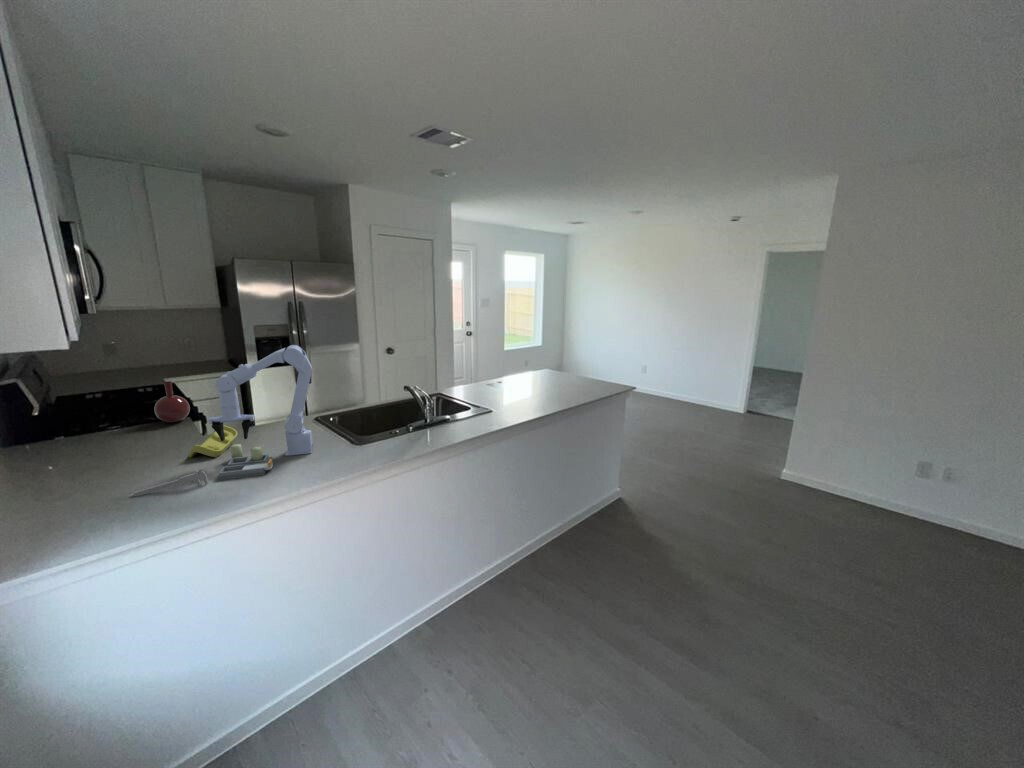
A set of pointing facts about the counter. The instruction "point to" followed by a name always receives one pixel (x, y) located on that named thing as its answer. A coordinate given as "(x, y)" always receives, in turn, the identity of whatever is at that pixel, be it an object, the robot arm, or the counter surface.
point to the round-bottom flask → (171, 406)
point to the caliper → (176, 483)
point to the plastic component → (215, 443)
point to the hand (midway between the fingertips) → (234, 439)
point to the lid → (260, 466)
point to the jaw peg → (236, 450)
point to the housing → (238, 464)
